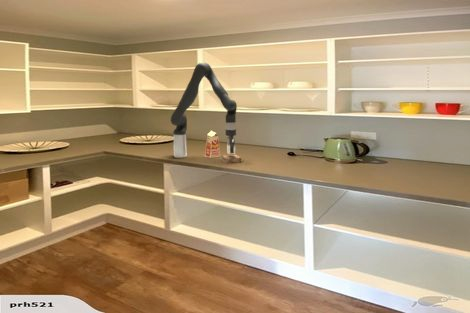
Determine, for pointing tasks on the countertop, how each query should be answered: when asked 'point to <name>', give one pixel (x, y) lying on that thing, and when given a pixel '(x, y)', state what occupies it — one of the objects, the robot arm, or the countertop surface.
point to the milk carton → (212, 145)
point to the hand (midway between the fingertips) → (231, 152)
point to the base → (230, 158)
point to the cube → (229, 149)
